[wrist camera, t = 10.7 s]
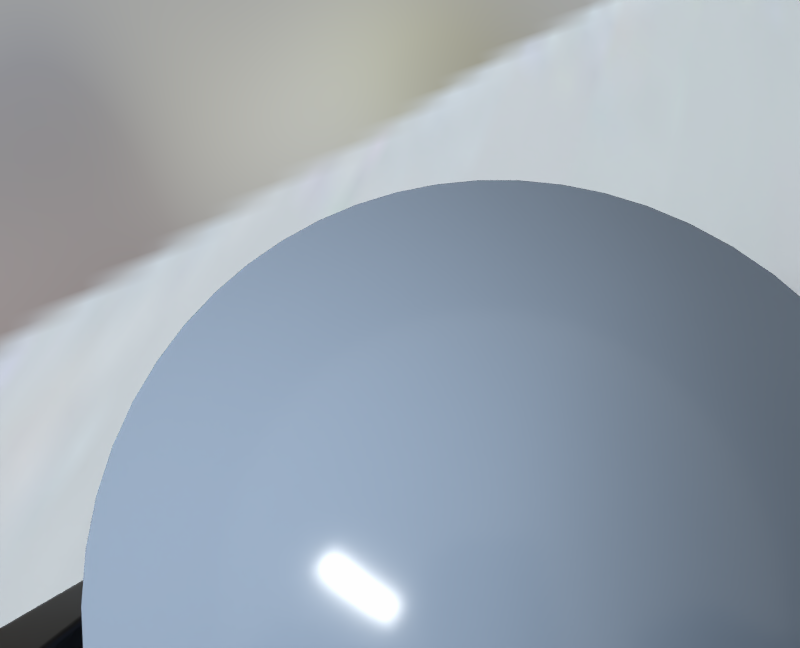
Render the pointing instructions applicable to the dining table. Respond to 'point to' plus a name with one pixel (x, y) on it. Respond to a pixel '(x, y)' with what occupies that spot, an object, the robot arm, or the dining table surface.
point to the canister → (465, 440)
